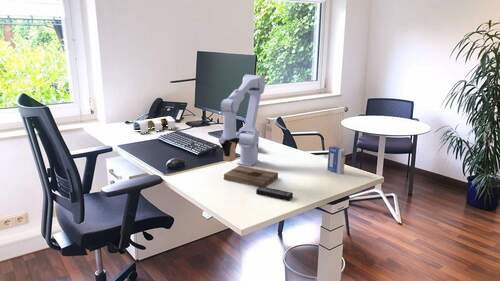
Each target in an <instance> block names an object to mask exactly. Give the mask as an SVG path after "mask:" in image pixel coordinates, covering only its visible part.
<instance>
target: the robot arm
mask: <svg viewBox="0 0 500 281" xmlns="http://www.w3.org/2000/svg"><path fill="white" fill-rule="evenodd" d="M265 87H266V78H265V76H264V75H262V74H260V75H256V74H244V76H243V77H242V83H241V84H240V86H239V87H238V88H237V89H234V90H233V91H232V92H231V93H230V95H229V96H228V97H227V98H224V99H223V100H222V101H221V103H220V111H221V115H222V116H223V117H222V118H223V119H222V121H223V122H222V123H223V125H222V131H223V132H222V134H221V136H220V137H219V138H218V144H220V146H221V148H222V151H224V155H225V156H228V157H229V155H230V148H231V145H232V142H234V143H236V147H237V146H239V147H240V149H239V150H240V158H239V159H240V160H239V161H237V162H236V164H238V165H241V166H246V167H252V166H254V165H255V164H257V163H259V162H260V160H259V159H258V158H259V147H258V148H257V144H258V145H259V142H260V132H259V131H258V130H257V128H256V122H257V117H258V110H259V105H260V101H261V96H262V94H264V91H265ZM246 93H248V94H249V95H250V96H249V100H248V107H247V110H246V111H247V112H246V116H245V117H246V118H245V122H244V126H241V128H239V130H238V131H237V112H238V111H239V109H240V108H239V107H240V104H241V103H242V101H243V100H244V99H245V94H246Z"/></svg>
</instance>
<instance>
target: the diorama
mask: <svg viewBox="0 0 500 281" xmlns="http://www.w3.org/2000/svg"><path fill="white" fill-rule="evenodd" d="M146 118H147V115H144V116H143V115H140V117H139V120H135V121H134V122H133V123H132V126H133V131H134V130H141V131H140V133H145V132H148V133H149V130H148V128H152V127H155V129H154V131H157V130H161V131H162V130H163V128H162V126H166V125H168V127H167V130H168V129H170V128H174V129H175V128H176V120H175V119H174V118H173V117H172V116H168V115H167V116H162V117H156V118H150V119H149V118H148V119H146ZM170 130H171V129H170Z"/></svg>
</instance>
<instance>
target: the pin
mask: <svg viewBox="0 0 500 281" xmlns="http://www.w3.org/2000/svg"><path fill="white" fill-rule="evenodd" d="M236 149H237V146H236V143H234V142H232V145H231V148H230V155H229V157H228V156H225V155H224V151H223V150H222V151H223V155H222V156H223V161H226V162H229V163H231V162H233V161H235V160H236V155H237V154H236V151H237V150H236Z"/></svg>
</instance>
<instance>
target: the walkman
mask: <svg viewBox="0 0 500 281" xmlns="http://www.w3.org/2000/svg"><path fill="white" fill-rule="evenodd" d="M345 162H346V149H344V148H340V147H338V146H334V145H331V146H329V147H328V159H327V168H326V169H327V171H329V172H332V173H335V174H338V175H342V174H344V173H345V164H346V163H345Z"/></svg>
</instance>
